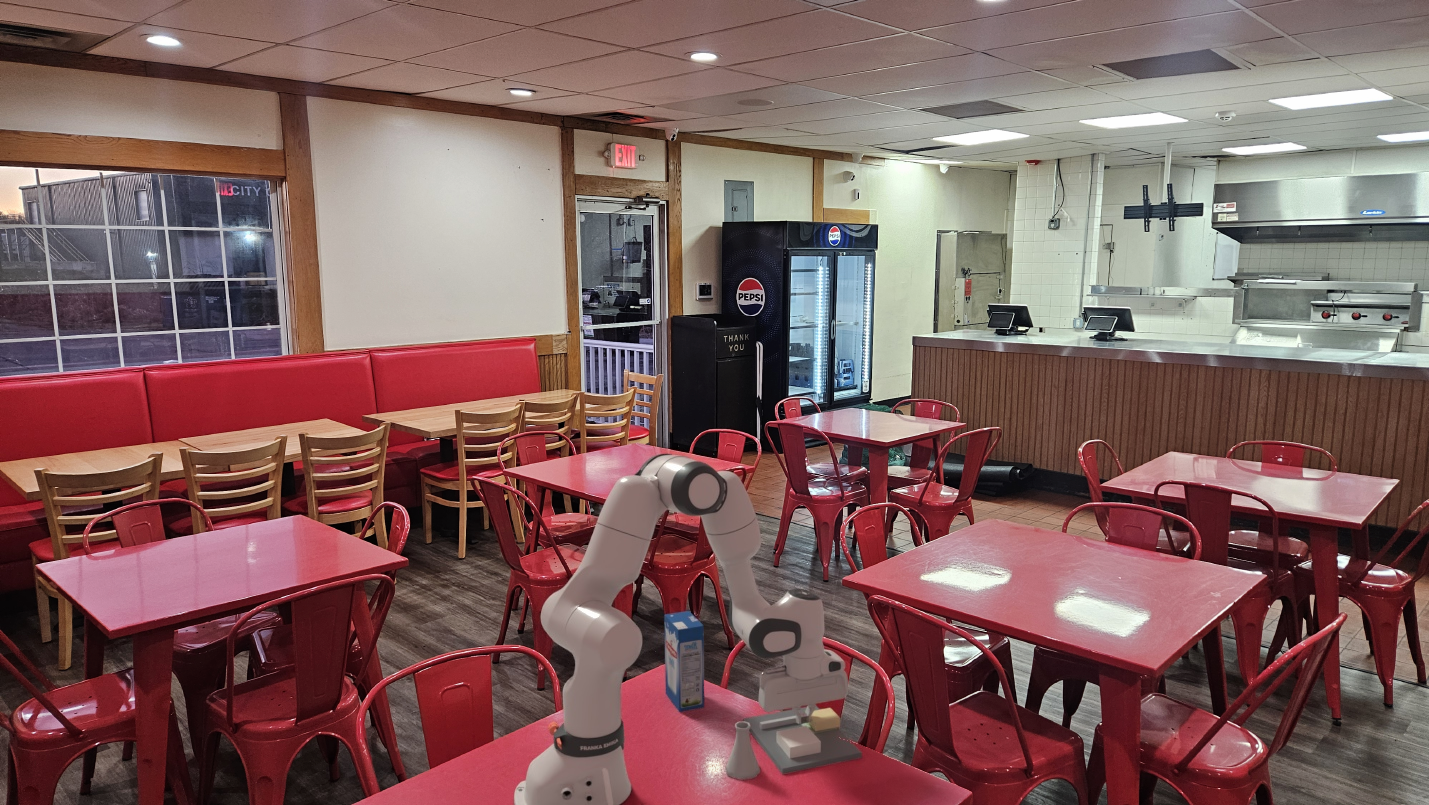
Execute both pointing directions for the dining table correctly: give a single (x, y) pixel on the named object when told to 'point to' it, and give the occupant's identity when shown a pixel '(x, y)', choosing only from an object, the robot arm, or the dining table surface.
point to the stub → (824, 719)
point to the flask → (742, 755)
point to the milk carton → (684, 660)
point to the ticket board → (804, 762)
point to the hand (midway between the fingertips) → (803, 722)
